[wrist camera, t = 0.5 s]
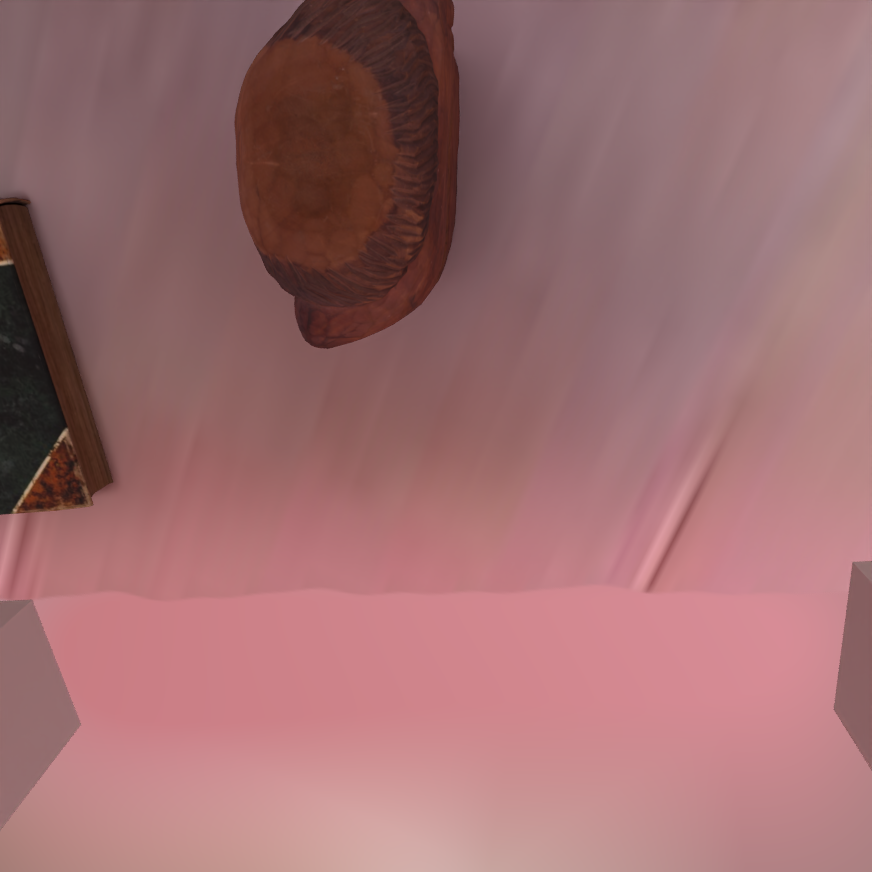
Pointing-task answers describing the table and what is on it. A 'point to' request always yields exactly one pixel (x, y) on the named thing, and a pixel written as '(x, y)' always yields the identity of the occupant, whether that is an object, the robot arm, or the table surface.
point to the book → (40, 386)
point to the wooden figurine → (352, 160)
